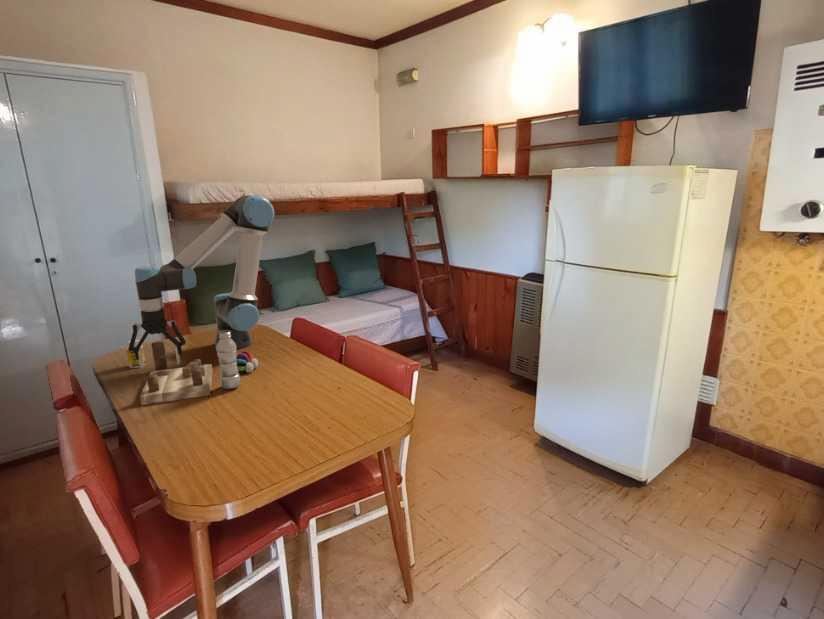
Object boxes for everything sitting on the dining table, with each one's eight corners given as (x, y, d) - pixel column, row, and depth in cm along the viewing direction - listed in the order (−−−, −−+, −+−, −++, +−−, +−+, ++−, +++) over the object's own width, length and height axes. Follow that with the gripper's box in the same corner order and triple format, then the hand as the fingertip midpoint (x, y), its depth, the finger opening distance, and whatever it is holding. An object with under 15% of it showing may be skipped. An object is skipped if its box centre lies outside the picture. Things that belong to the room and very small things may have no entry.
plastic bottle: (234, 392, 154) (228, 335, 149) (216, 390, 155) (209, 334, 150) (245, 384, 160) (239, 329, 155) (227, 382, 162) (221, 328, 157)
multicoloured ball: (261, 366, 177) (259, 348, 175) (249, 375, 168) (247, 357, 166) (240, 365, 178) (238, 347, 176) (227, 375, 169) (225, 356, 167)
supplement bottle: (131, 369, 174) (126, 344, 172) (127, 365, 178) (123, 340, 175) (147, 365, 178) (143, 340, 175) (143, 362, 182) (139, 337, 179)
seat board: (212, 371, 172) (210, 351, 170) (209, 395, 152) (207, 372, 150) (152, 379, 165) (149, 358, 163) (141, 405, 145) (137, 381, 143)
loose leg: (168, 368, 176) (164, 340, 173) (167, 371, 172) (162, 344, 169) (156, 369, 174) (152, 342, 171) (155, 373, 171) (150, 345, 168)
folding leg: (195, 366, 168) (194, 359, 167) (202, 366, 168) (201, 359, 167) (182, 376, 159) (181, 368, 158) (190, 376, 159) (189, 368, 158)
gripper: (189, 303, 174) (196, 357, 180) (116, 309, 166) (126, 365, 172) (187, 308, 168) (194, 364, 173) (112, 314, 160) (122, 373, 165)
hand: (160, 365), depth 172 cm, fingers open, 11 cm apart
